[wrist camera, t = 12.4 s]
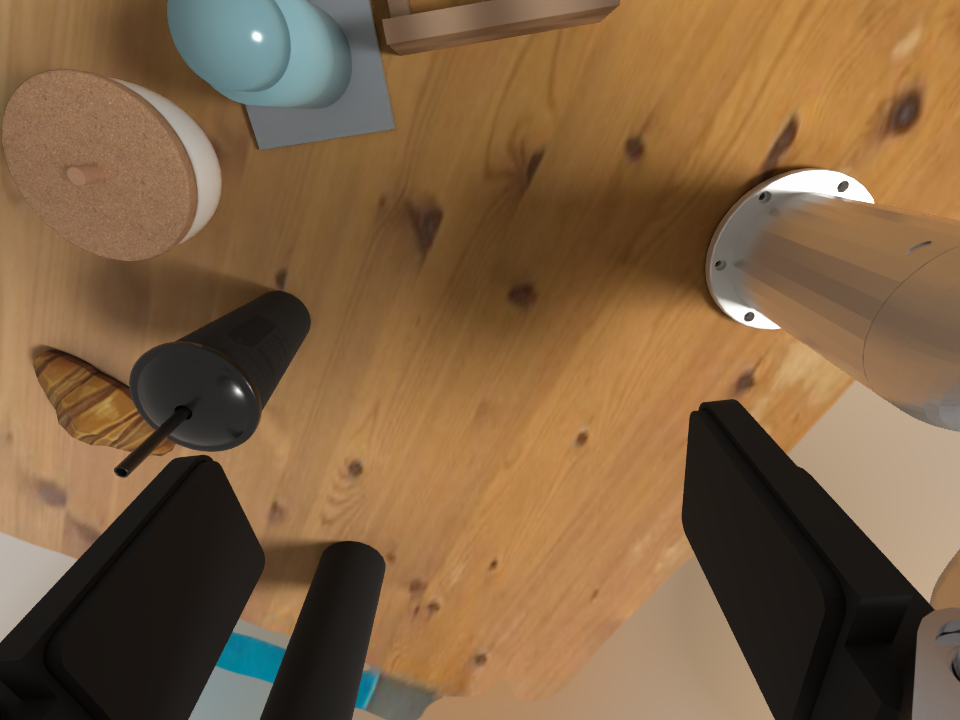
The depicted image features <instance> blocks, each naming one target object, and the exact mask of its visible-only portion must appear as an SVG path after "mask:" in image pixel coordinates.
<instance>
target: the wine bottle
mask: <svg viewBox="0 0 960 720" xmlns="http://www.w3.org/2000/svg"><path fill="white" fill-rule="evenodd" d="M385 565H386V564H385V562H384V559H383V557H382V556H381V555H380V554H379V552H378V551H377V550H375V549H373V548H372V547H370V546H368V545H365V544H362V543H359V542H351V541H347V542H339V543H336V544H334V545H331V546H329V547H328V548H327V549H326V550H325V551H324V552H323V555H322V557H321V559H320V562H319V564H318V567H317V570H316V572H315V575H314V578H313V580H312V583H311V586H310V588H309V591H308V593H307V596H306V599H305V601H304V604H303V607H302V609H301V612H300V615H299V617H298V620H297V623H296V625H295V628H294V630H293V633H292V636H291V639H290V641H289V644H288V646H287V649H286V652H285V654H284V657H283V660H282V662H281V665H280V668H279V670H278V673H277V675H276V678H275V681H274V683H273V687H272V689H271V691H270V694H269V697H268V699H267V702H266V705H265V708H264V710H263V713H262V715H261V718H260V720H352V717H353V712H354V708H355V703H356V699H357V694H358V690H359V685H360V681H361V676H362V672H363V667H364V663H365V659H366V654H367V650H368V645H369V641H370V636H371V632H372V627H373V623H374V618H375V614H376V609H377V605H378V600H379V596H380V591H381V587H382V582H383V578H384V573H385Z"/></svg>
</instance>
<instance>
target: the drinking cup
mask: <svg viewBox="0 0 960 720" xmlns="http://www.w3.org/2000/svg"><path fill="white" fill-rule="evenodd" d="M310 325H311V320H310V315H309V312H308V310H307V308H306V307H305V305H304V304H303V303H302V302H301V301H300V300H299V299H297V298H296V297H294V296H293V295H291V294H288V293H285V292H277V291H276V292H270V293H267V294H265V295H263V296H261V297H259V298H257V299H255V300H253V301H251V302H249V303H247V304H246V305H244V306H242V307H240V308H238V309H236V310H234V311H232V312H230V313H228V314H226V315H225V316H223V317H221V318H219V319H217V320H215V321H213V322H211V323H209V324H207V325H206V326H204V327H202V328H200V329H198V330H196V331H194V332H192V333H190V334H188V335H186V336H185V337H183V338H181V339H179V340H177V341H175V342H170V343H165V344H161V345H158V346H156V347H154V348H152V349H150V350H149V351H147V352H146V353H144V354H143V355H142V356H141V357H140V358H139V359H138V360H137V361H136V363H135V364H134V366H133V368H132V371H131V374H130V381H129V387H130V394H131V397H132V400H133V403H134V405H135V407H136V409H137V410H138V412H139V414H140V415H141V416H142V418H143V419H144V420H145V421H146V422H147V423H148V424H149V425H150V426H151V427H152V428H153V429H154V430H155V431H154V432H153V433H152V434H151V435H150V436H149V437H148V438H147V439H146V440H144V441H143V442H142V443H141V444H140V445H139V446H138V447H137V448H136V449H135V450H134V451H133V452H132V453H130V454H129V455H128V456H127V457H126V458H125V459H124V460H123V461H122V462H121V463H120V464H119V465H118V466H117V467H115V469H114V472H115V474H116V475H118V476H120V477H127V476H128V475H129V474H130V473H131V472H132V471H133V470H135V469H136V468H137V467H138V466H139V465H140V464H141V463H142V462H143V461H144V460H145V459H146V458H147V457H148V456H149V455H150V454H151V453H152V452H153V451H154V450H155V449H156V448H157V447H158V446H159V445H160V444H161V443H162V442H163V441H164V440H165V439H166V438H167V439H168V440H170V441H172V442H174V443H176V444H178V445H181V446H184V447H187V448H190V449H194V450H199V451H208V452H216V451H224V450H228V449H232V448H234V447H237V446H239V445H241V444H242V443H244V442H245V441H246V440H248V439H249V438H250V437H251V436H252V434H253V433H254V432H255V430H256V429H257V427H258V425H259V422H260V419H261V413H262V410H263V408H264V407H265V405H266V403H267V402H268V400H269V398H270V397H271V395H272V393H273V391H274V390H275V388H276V386H277V385H278V383H279V381H280V380H281V378H282V376H283V374H284V373H285V371H286V369H287V368H288V366H289V364H290V362H291V361H292V359H293V357H294V356H295V354H296V352H297V351H298V349H299V347H300V345H301V344H302V342H303V340H304V339H305V337H306V335H307V334H308V332H309V329H310Z"/></svg>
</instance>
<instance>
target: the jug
mask: <svg viewBox="0 0 960 720" xmlns="http://www.w3.org/2000/svg"><path fill="white" fill-rule="evenodd" d="M167 17H168V25H169V29H170V33H171V36H172V39H173V41H174V44H175V46H176V48H177V50H178V52H179V54H180V55H181V57H182V58H183V60H184V61H185V62H186V64H187V65H188V66H189V67H190V68H191V69H192V70H193V71H194V72H195V73H196V74H197V75H198V76H199V77H201V78H202V79H203V80H205V81H206V82H208V83H209V84H210V85H211V86H212V87H213V88H214V89H216V90H217V91H218V92H219V93H221V94H222V95H224V96H226V97H227V98H229V99H231V100H233V101H236V102H239V103H242V104H247V105H257V106H273V107H289V108H304V109H321V108H325V107H328V106H330V105H332V104H333V103H335V102H336V101H337V100H339V99H340V98H341V96H342V95H343V94H344V92H345V91H346V89H347V87H348V85H349V82H350V78H351V73H352V56H351V50H350V47H349V43H348V41H347V38H346V36H345V34H344V32H343V30H342V29H341V27H340V26H339V24H338V23H337V22H336V21H335V20H334V18H333V17H331V16H330V15H329V14H328V13H327V12H325V11H324V10H323V9H321V8H320V7H318V6H316V5H315V4H313V3H312V2H310V1H309V0H168V3H167Z"/></svg>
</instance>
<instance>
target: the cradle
mask: <svg viewBox="0 0 960 720" xmlns="http://www.w3.org/2000/svg"><path fill="white" fill-rule="evenodd" d="M387 2H388V7H389V12H390V18H388V19H382V22H383V27H384V33H385V38H386V43H387V45H388V46H389V47H390V48H392V49H393V50H394V51H395V52H397V53H398V54H399V55H400V56H402V55H408V54H414V53H420V52H426V51H432V50H437V49H443V48H449V47H455V46H461V45H467V44H473V43H479V42H485V41H491V40H496V39H502V38H508V37H514V36H520V35H526V34H532V33H538V32H544V31H550V30H555V29H561V28H567V27H573V26H579V25H585V24H591V23H597V22H600V21H602V20H603V19H604V18H605V17H606V16H607V15H608V14H610V13H611V12H612V11H613V10H614V9H615V8H616V7H617V6H619V5H620V0H490V1H485V2H479V3H473V4H468V5H462V6H456V7H451V8H445V9H439V10H434V11H428V12H422V13H416V14H411V8H410V2H409V0H387Z"/></svg>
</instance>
